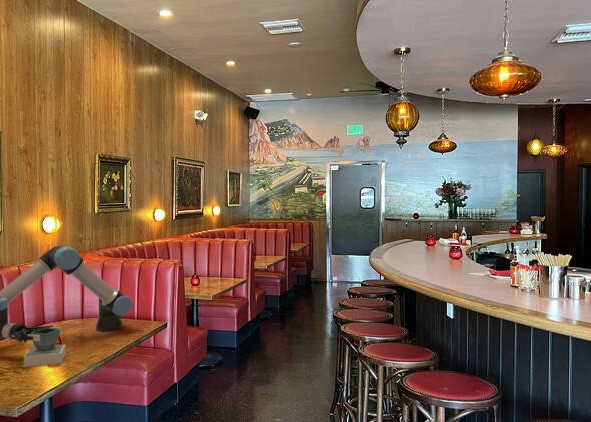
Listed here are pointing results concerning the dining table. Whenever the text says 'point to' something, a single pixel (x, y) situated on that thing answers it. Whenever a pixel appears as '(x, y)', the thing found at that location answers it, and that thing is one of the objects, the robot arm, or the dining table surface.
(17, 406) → the dining table surface
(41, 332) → the flower pot
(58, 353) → the grey box
